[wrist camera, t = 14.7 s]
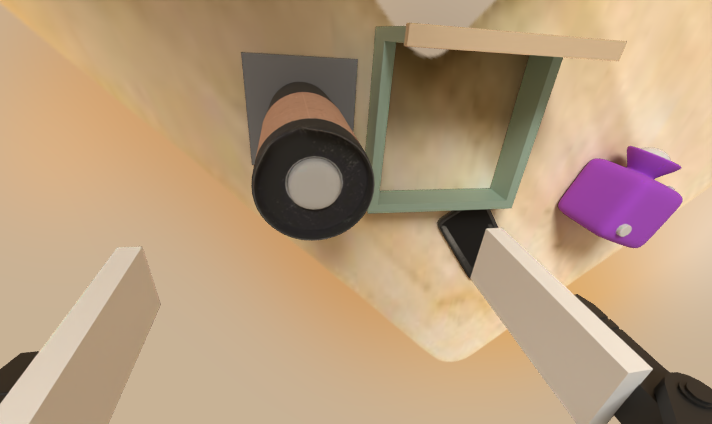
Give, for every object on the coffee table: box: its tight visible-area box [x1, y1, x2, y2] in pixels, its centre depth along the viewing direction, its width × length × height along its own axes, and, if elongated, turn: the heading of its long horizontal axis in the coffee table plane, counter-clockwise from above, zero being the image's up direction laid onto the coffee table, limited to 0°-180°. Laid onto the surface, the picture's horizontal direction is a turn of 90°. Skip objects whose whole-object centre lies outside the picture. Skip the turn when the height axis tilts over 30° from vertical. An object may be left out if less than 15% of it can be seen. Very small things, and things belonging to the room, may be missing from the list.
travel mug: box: [252, 82, 375, 240], centre depth 28 cm, size 8×8×20 cm
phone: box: [437, 209, 498, 278], centre depth 51 cm, size 8×1×15 cm
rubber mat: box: [241, 52, 358, 165], centre depth 37 cm, size 12×12×1 cm
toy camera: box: [558, 146, 682, 248], centre depth 46 cm, size 11×14×10 cm
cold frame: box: [365, 23, 627, 214], centre depth 36 cm, size 21×20×11 cm
